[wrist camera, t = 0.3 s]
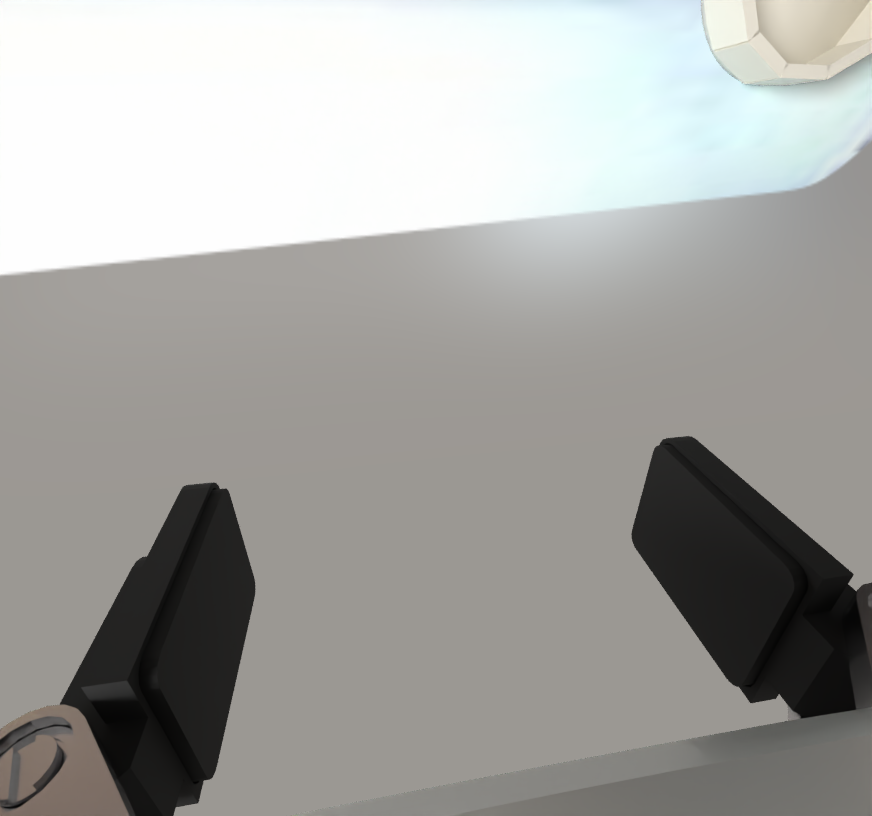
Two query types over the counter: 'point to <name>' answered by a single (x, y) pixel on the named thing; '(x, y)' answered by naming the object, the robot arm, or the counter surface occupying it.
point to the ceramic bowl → (787, 38)
